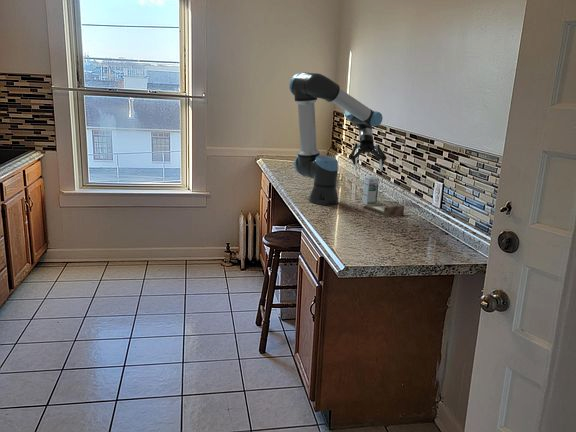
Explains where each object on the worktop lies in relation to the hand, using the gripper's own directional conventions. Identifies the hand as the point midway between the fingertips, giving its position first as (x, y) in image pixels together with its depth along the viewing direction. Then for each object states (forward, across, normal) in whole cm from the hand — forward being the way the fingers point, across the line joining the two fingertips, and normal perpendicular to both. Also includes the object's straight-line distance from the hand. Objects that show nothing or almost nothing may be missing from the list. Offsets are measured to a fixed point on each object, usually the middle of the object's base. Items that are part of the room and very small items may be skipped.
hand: (368, 169), depth 275 cm
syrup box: (+19, 0, -4) cm, 20 cm away
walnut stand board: (+29, -4, +6) cm, 29 cm away
